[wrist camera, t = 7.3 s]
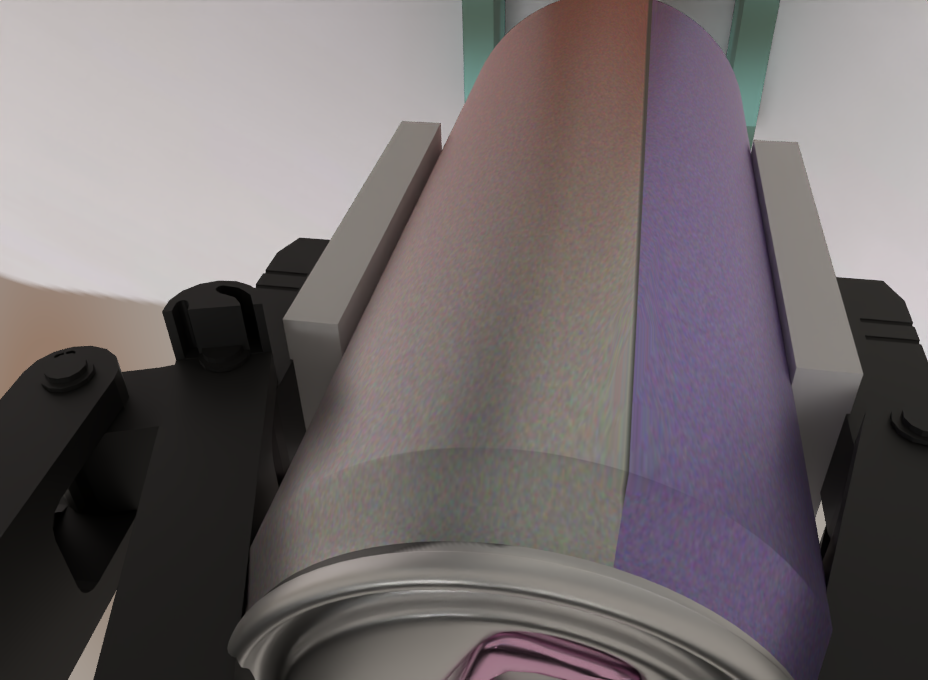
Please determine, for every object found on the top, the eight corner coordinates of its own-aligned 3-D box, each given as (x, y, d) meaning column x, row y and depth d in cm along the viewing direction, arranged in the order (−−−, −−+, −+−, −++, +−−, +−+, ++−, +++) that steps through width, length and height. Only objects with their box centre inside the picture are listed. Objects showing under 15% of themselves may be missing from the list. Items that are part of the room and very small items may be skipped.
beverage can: (791, 33, 18) (1030, 721, 6) (676, 264, 21) (685, 965, 10) (515, -56, 18) (212, 461, 6) (448, 191, 21) (182, 807, 10)
